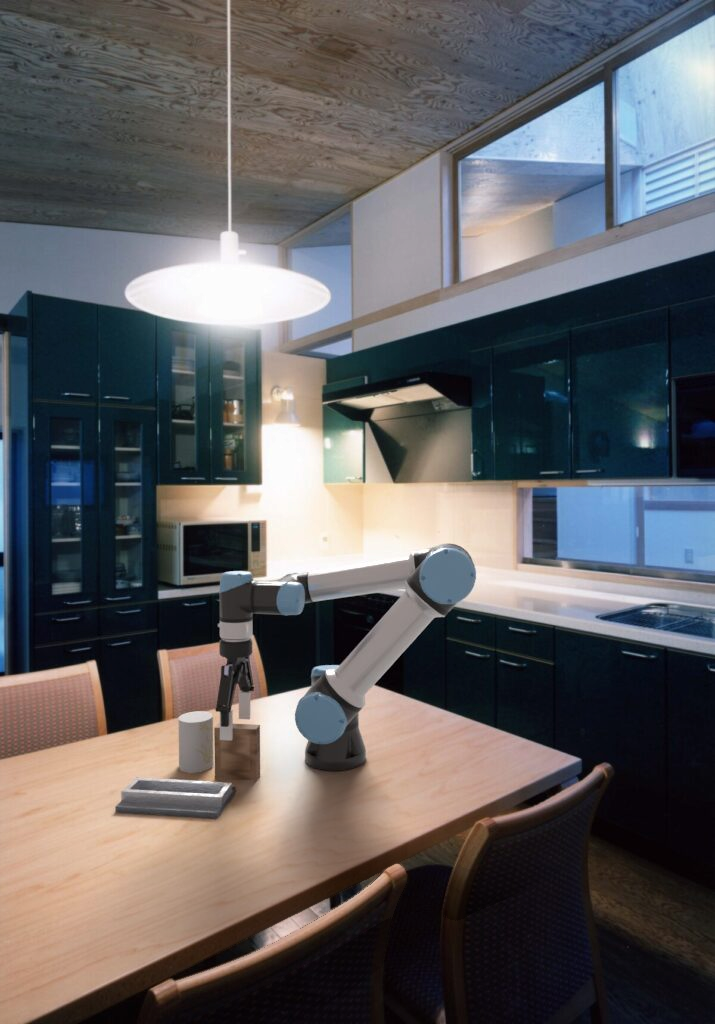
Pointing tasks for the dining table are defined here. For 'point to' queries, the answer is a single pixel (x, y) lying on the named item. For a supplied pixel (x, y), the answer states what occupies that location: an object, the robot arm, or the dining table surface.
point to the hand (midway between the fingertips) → (235, 728)
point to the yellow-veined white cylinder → (195, 741)
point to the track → (175, 797)
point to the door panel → (238, 753)
